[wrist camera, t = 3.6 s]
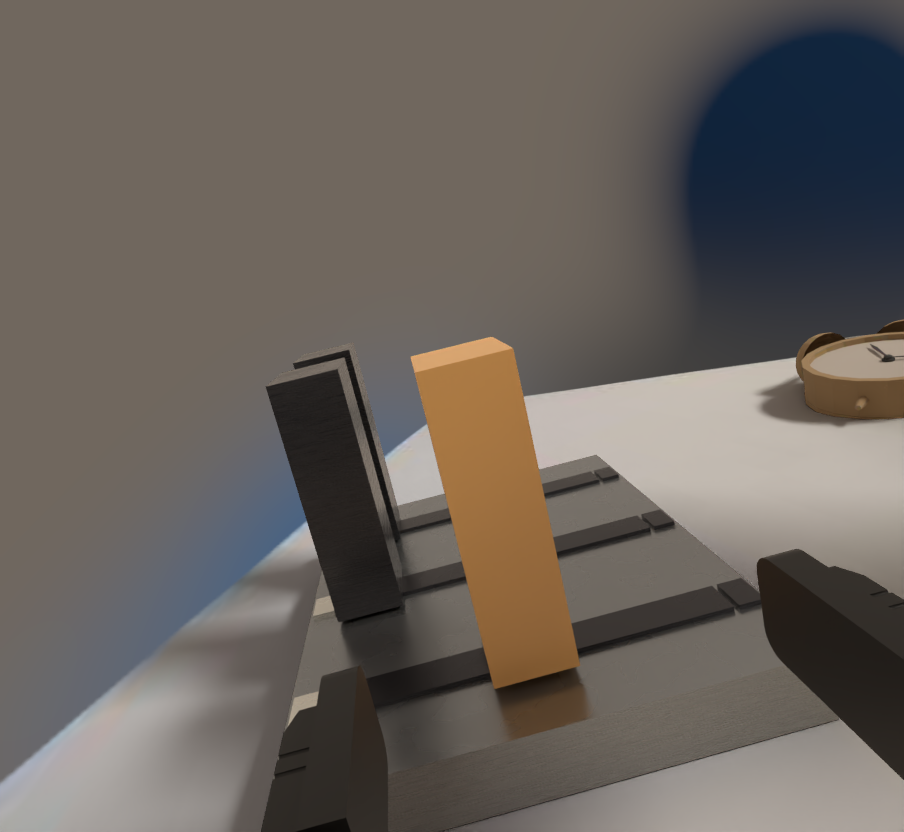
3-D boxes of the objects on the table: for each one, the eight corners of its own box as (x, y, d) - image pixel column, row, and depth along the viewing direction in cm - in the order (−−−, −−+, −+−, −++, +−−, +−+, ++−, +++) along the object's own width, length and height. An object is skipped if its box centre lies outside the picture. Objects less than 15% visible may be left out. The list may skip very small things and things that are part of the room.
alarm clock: (824, 393, 43) (776, 322, 56) (827, 455, 45) (780, 373, 58) (1027, 364, 39) (925, 296, 52) (1021, 432, 41) (924, 350, 54)
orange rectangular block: (494, 689, 21) (415, 372, 19) (477, 625, 25) (410, 356, 23) (580, 665, 21) (512, 348, 19) (550, 606, 25) (491, 336, 23)
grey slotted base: (290, 873, 19) (139, 460, 16) (343, 556, 42) (283, 356, 39) (839, 719, 20) (793, 297, 17) (602, 489, 43) (565, 288, 40)
